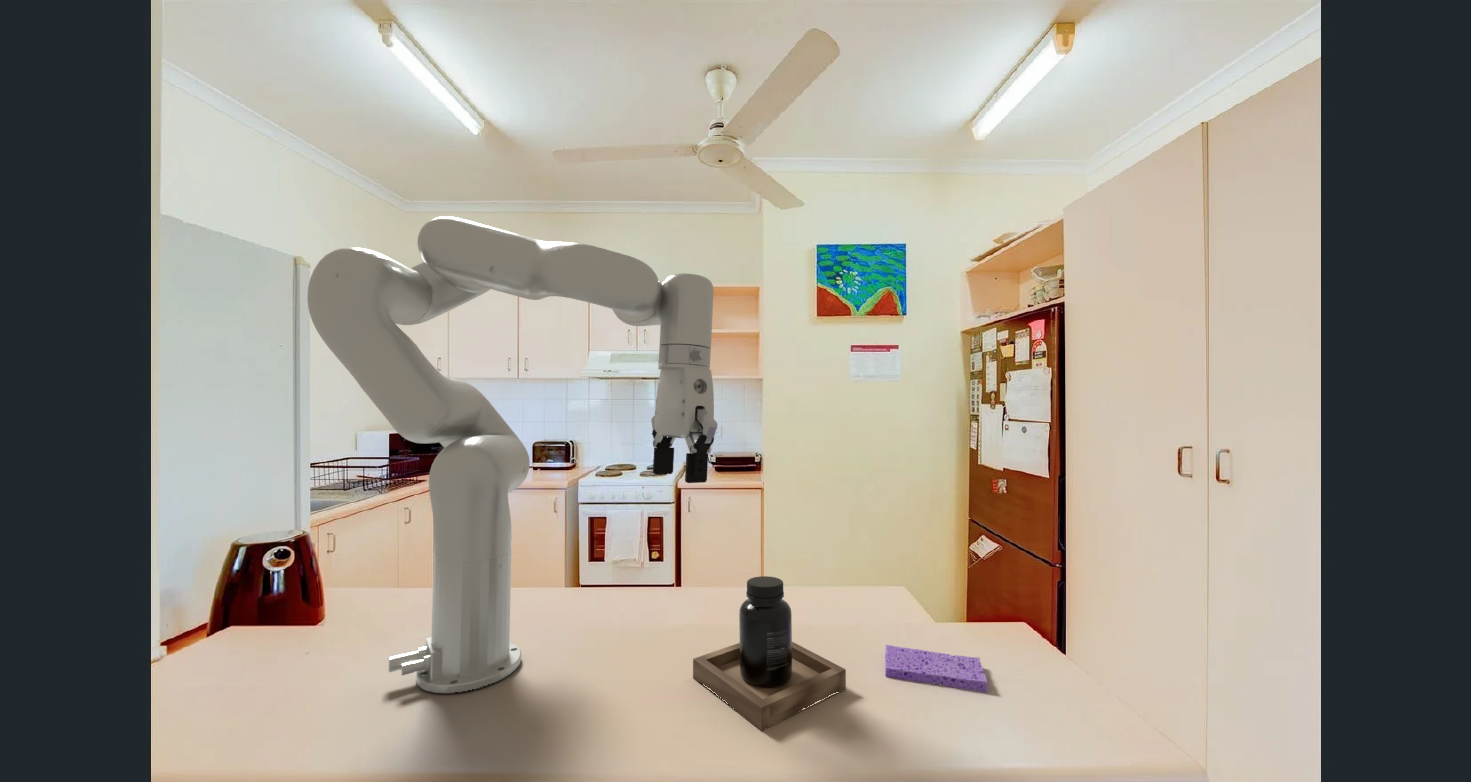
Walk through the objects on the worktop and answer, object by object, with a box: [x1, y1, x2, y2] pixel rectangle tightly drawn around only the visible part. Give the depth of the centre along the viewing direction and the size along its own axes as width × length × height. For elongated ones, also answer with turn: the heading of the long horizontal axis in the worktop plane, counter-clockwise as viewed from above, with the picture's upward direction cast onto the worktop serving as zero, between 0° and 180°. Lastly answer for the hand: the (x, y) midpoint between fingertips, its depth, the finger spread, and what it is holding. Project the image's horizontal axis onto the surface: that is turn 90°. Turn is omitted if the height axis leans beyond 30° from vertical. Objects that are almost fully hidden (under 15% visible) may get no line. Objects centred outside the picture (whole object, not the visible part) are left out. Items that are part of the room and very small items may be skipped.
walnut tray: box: [692, 641, 847, 732], centre depth 66 cm, size 14×14×2 cm
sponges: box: [884, 644, 989, 694], centre depth 69 cm, size 7×13×2 cm, turn 72°
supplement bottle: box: [738, 575, 793, 687], centre depth 66 cm, size 7×7×12 cm
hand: (678, 477), depth 74 cm, fingers open, 9 cm apart
